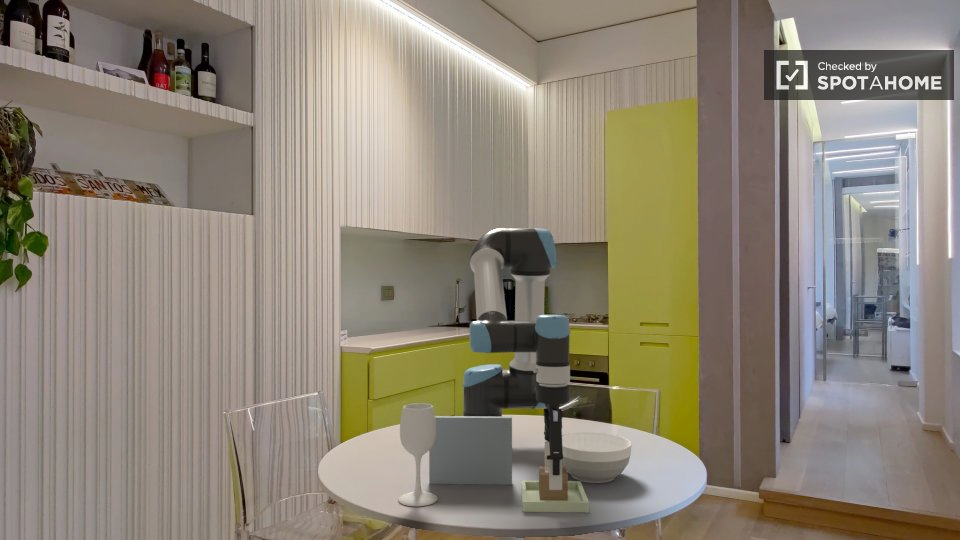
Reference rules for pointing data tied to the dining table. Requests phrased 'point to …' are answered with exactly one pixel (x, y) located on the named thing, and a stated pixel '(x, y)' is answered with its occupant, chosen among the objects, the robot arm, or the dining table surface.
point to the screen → (471, 450)
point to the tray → (574, 503)
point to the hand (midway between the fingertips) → (553, 479)
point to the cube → (544, 486)
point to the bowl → (595, 456)
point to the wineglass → (418, 446)
